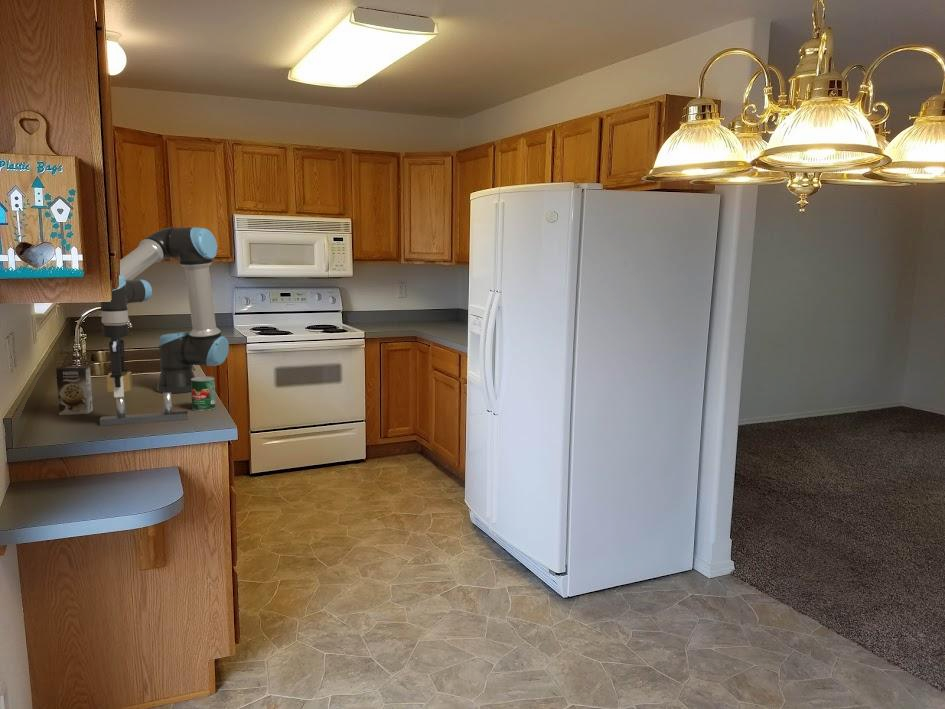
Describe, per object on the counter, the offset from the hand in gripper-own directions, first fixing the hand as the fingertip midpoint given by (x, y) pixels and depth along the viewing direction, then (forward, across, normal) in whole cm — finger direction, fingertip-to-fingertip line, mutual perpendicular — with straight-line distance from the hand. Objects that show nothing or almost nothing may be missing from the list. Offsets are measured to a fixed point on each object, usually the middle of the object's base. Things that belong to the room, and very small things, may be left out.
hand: (120, 394), depth 219 cm
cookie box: (+10, -20, -16) cm, 27 cm away
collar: (-2, 0, 0) cm, 2 cm away
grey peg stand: (+9, 0, +7) cm, 12 cm away
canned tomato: (+10, -13, +25) cm, 30 cm away
